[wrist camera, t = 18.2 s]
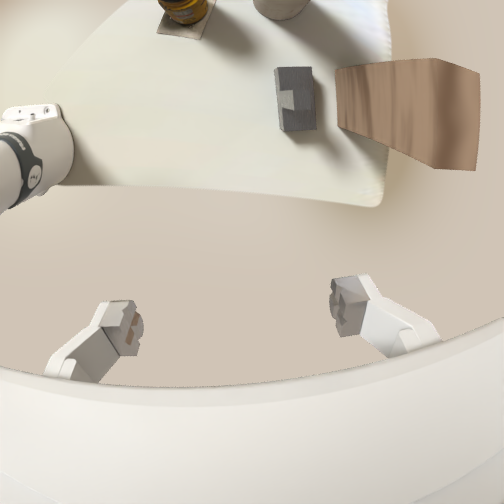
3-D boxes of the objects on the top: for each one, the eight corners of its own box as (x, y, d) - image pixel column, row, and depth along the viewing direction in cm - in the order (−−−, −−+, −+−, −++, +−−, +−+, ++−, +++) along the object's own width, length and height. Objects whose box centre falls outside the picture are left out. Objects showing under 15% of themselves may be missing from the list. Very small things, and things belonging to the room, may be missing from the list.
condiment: (217, -3, 29) (212, -32, 19) (199, 39, 33) (187, 21, 23) (174, -9, 27) (156, -37, 17) (156, 33, 31) (132, 15, 21)
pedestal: (337, 126, 42) (434, 168, 19) (334, 69, 36) (435, 58, 14) (369, 126, 42) (475, 171, 19) (367, 72, 36) (479, 73, 14)
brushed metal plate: (296, 141, 31) (336, 139, 31) (289, 59, 25) (331, 60, 25) (279, 128, 42) (309, 126, 42) (273, 69, 36) (304, 68, 36)
